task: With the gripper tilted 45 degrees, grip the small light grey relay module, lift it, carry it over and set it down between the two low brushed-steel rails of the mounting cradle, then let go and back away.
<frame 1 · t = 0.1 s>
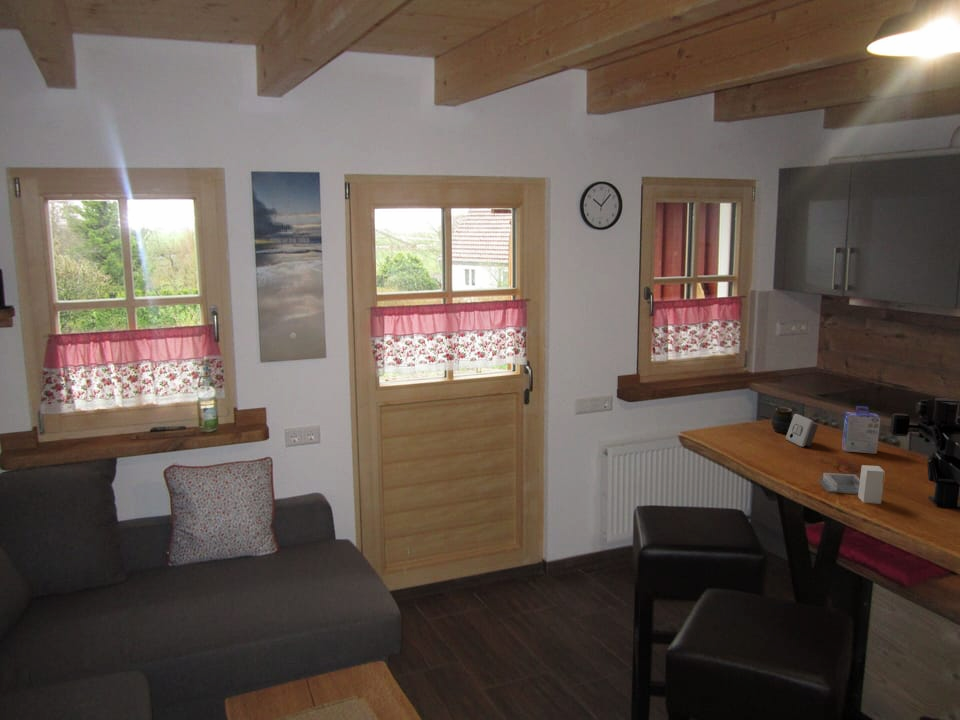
hand: (915, 418, 232), 17 cm above the counter, tool horizontal, fingers open, 9 cm apart
electrical switch: (800, 443, 263), on the counter
relay module: (869, 500, 212), on the counter
ink cartridge box: (858, 451, 255), on the counter
mate gourd: (781, 432, 276), on the counter
rail cradle: (843, 487, 222), on the counter
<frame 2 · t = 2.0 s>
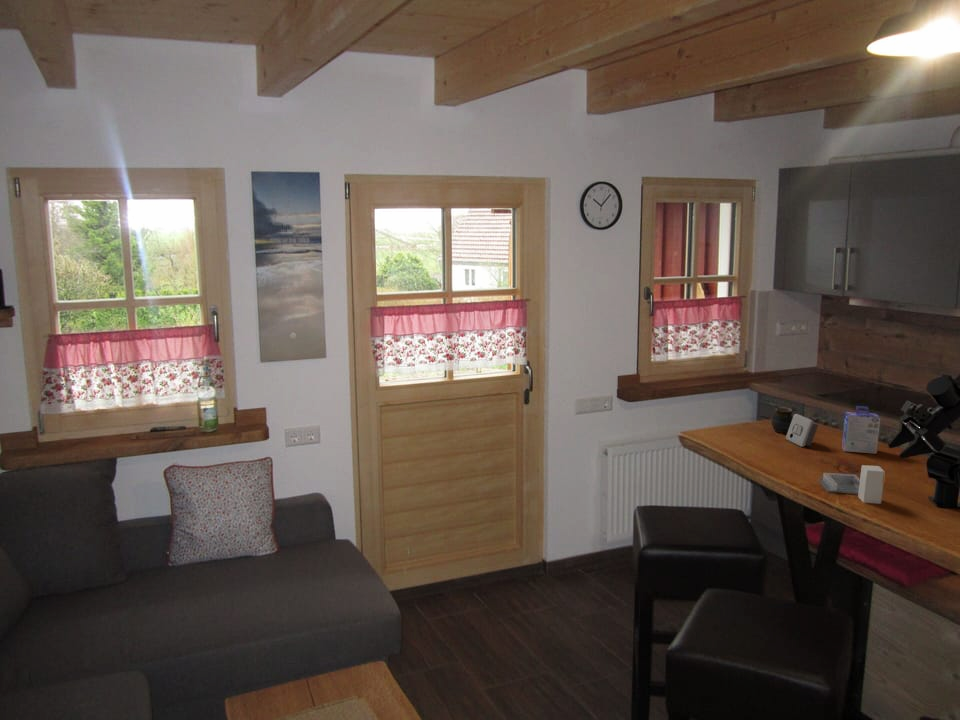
hand: (894, 451, 210), 14 cm above the counter, tool tilted 45°, fingers open, 9 cm apart
nothing on the counter moved.
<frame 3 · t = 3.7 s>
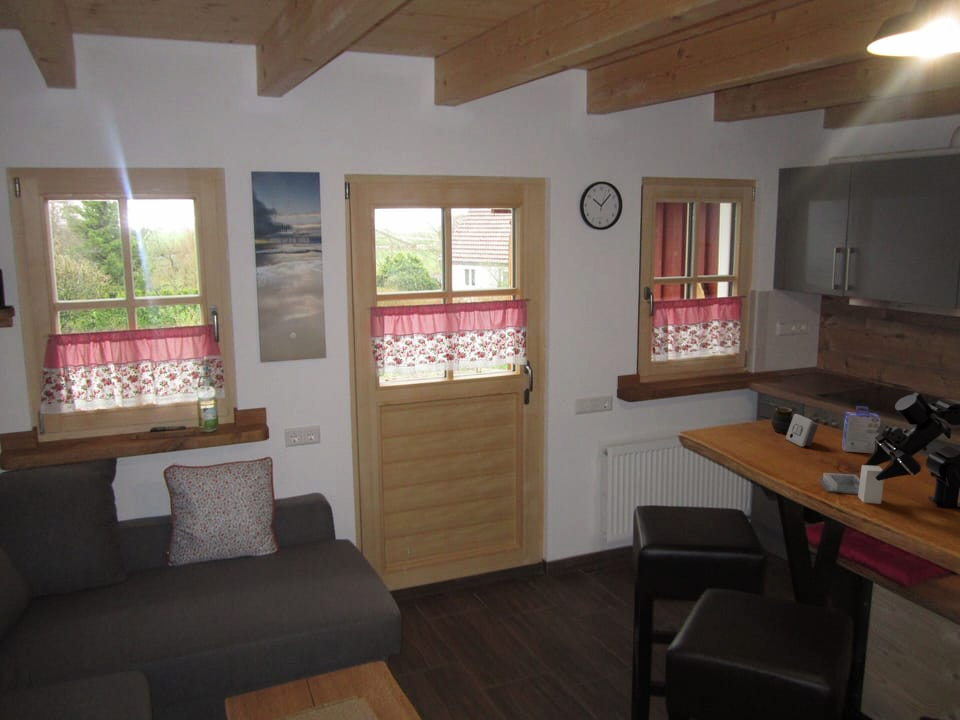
hand: (870, 473, 211), 8 cm above the counter, tool tilted 45°, fingers open, 9 cm apart
nothing on the counter moved.
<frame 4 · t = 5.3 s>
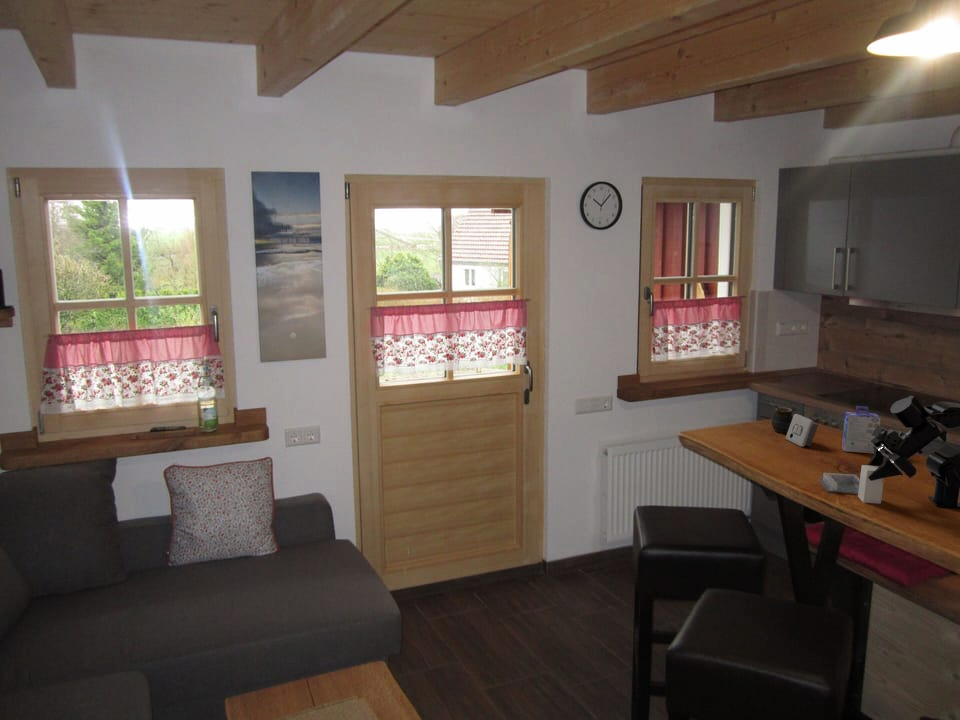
hand: (866, 476, 211), 7 cm above the counter, tool tilted 45°, fingers closed on relay module, 4 cm apart
relay module: (869, 500, 212), on the counter, touching gripper
everything else where it was.
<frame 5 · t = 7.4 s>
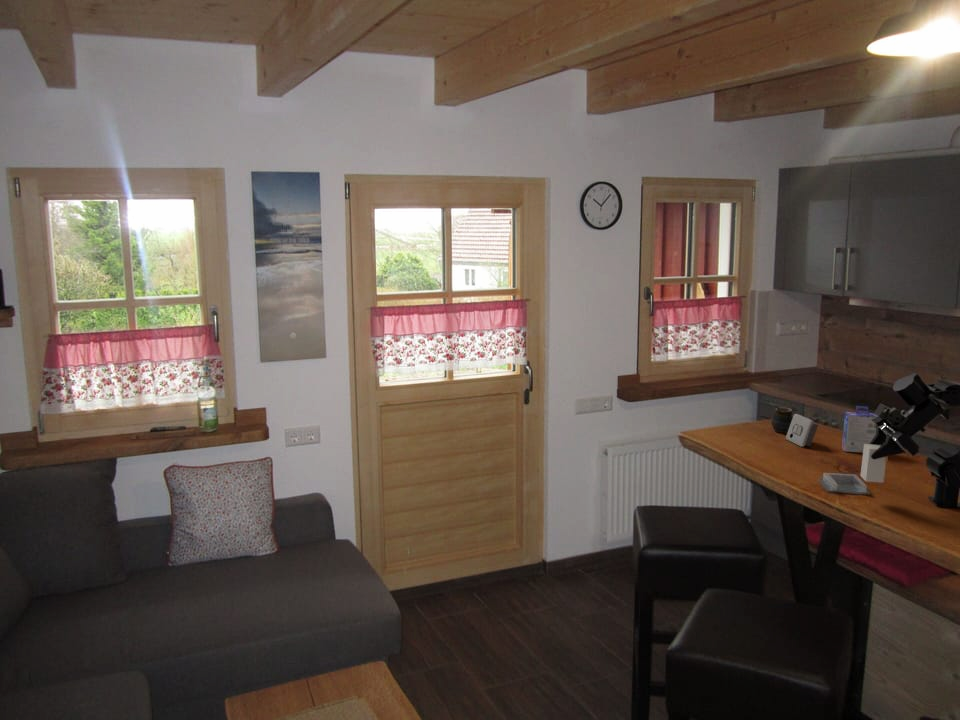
hand: (869, 455, 210), 12 cm above the counter, tool tilted 45°, fingers closed on relay module, 4 cm apart
relay module: (871, 479, 211), point 6 cm above the counter, touching gripper
everything else where it was.
when the fingers open (8 cm above the counter, at t = 9.9 s): relay module stays where it is, resting on rail cradle.
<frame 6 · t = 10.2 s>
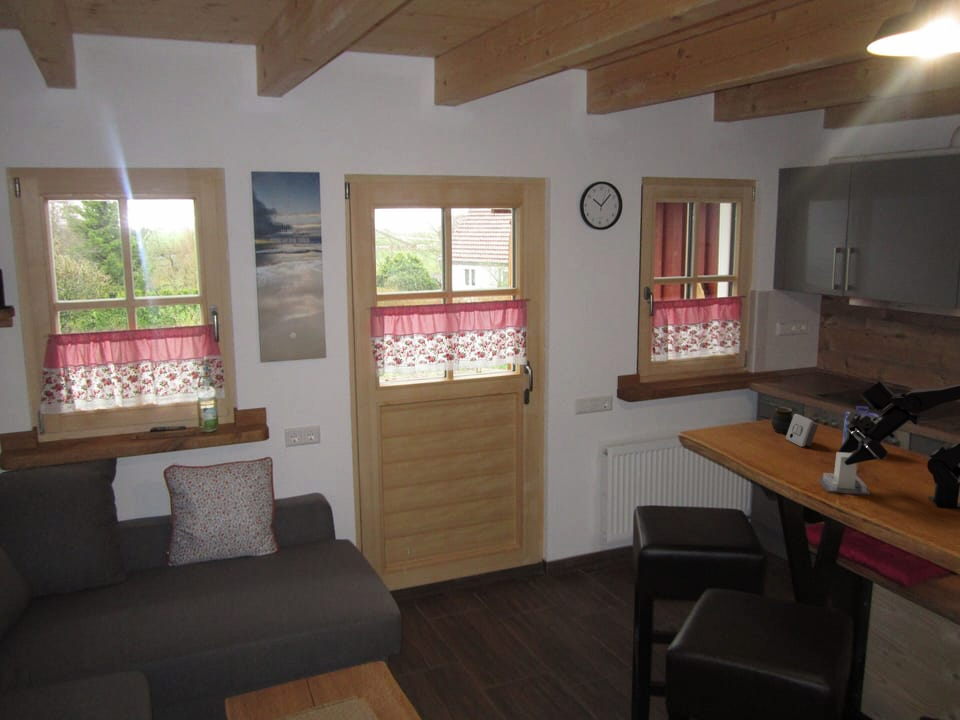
hand: (841, 459, 220), 8 cm above the counter, tool tilted 45°, fingers open, 7 cm apart
relay module: (843, 485, 221), point 1 cm above the counter, touching rail cradle
everything else where it was.
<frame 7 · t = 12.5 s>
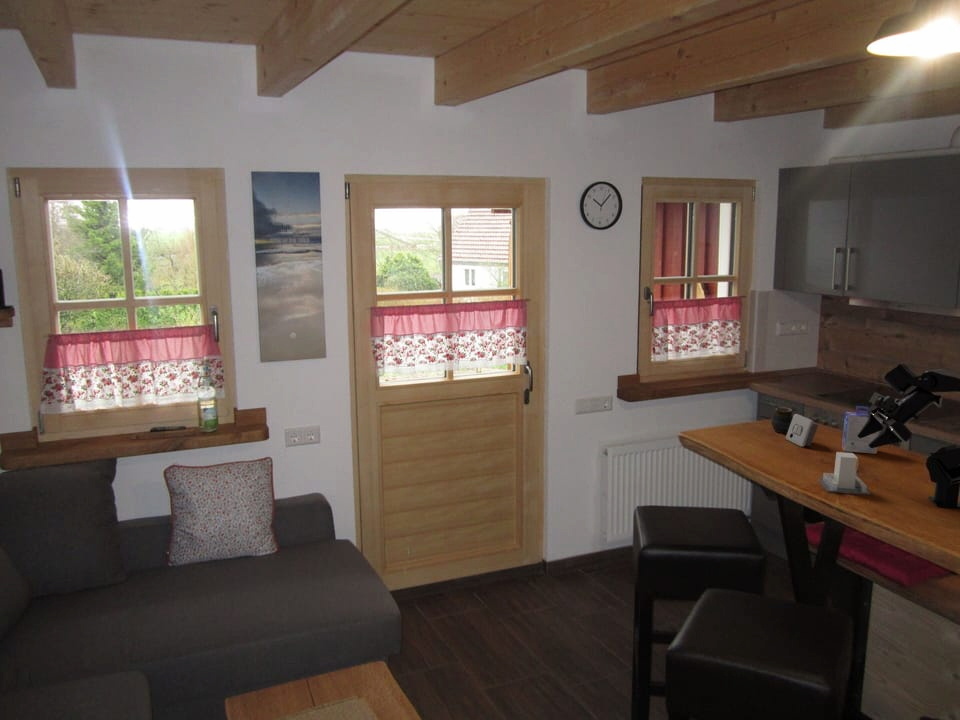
hand: (863, 441, 218), 14 cm above the counter, tool tilted 45°, fingers open, 9 cm apart
nothing on the counter moved.
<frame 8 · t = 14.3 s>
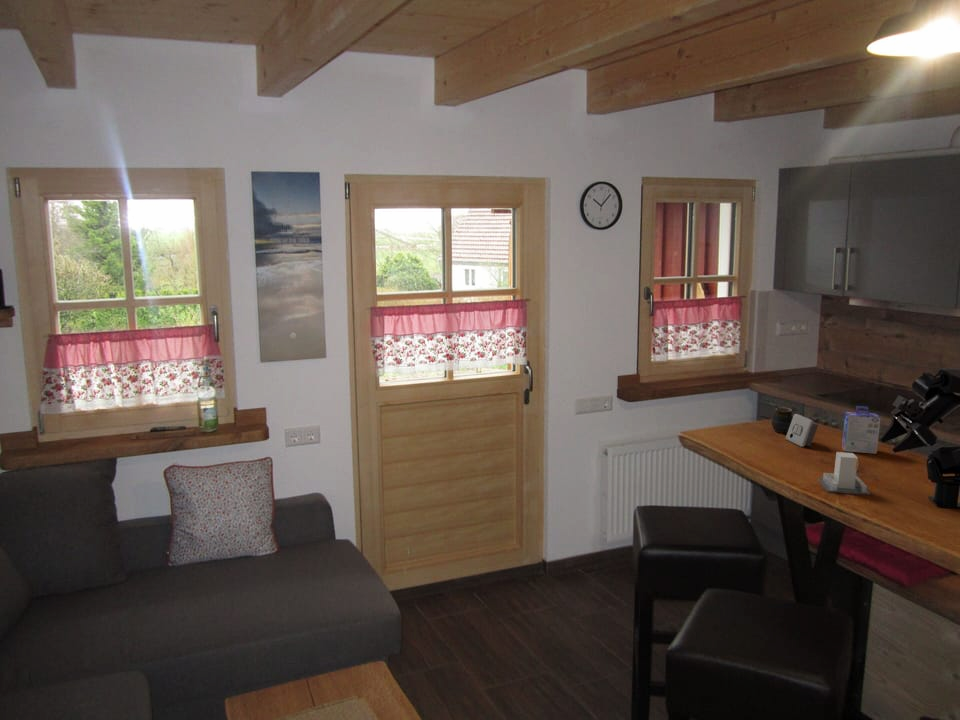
hand: (887, 446, 215), 14 cm above the counter, tool tilted 45°, fingers open, 9 cm apart
nothing on the counter moved.
at the end: relay module 0.0 cm from the target spot, point 0.5 cm above the counter; relay module tilted 0°; the gripper is holding nothing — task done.
